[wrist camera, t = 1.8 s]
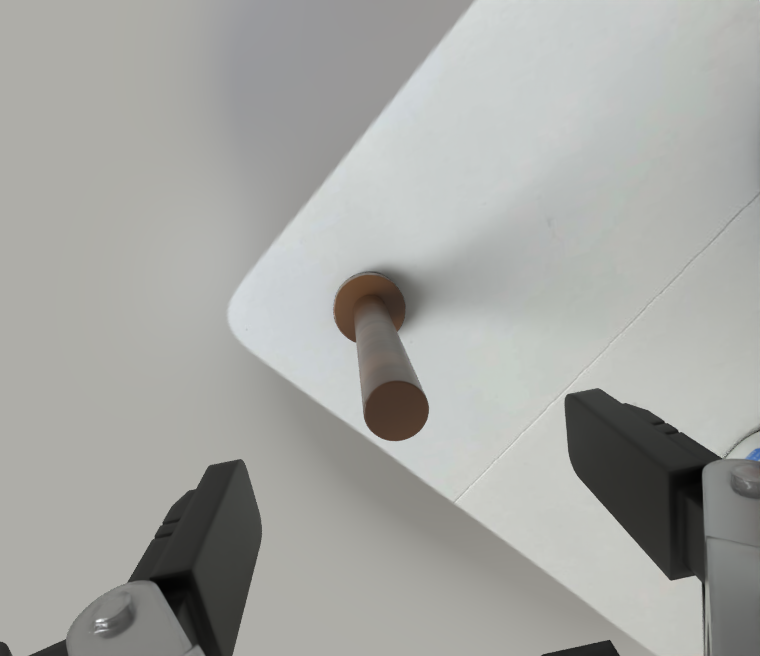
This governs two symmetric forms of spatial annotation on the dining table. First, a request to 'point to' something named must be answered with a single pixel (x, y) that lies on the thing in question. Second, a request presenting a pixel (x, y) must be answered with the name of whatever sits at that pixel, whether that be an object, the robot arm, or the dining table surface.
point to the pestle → (381, 355)
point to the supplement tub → (747, 449)
